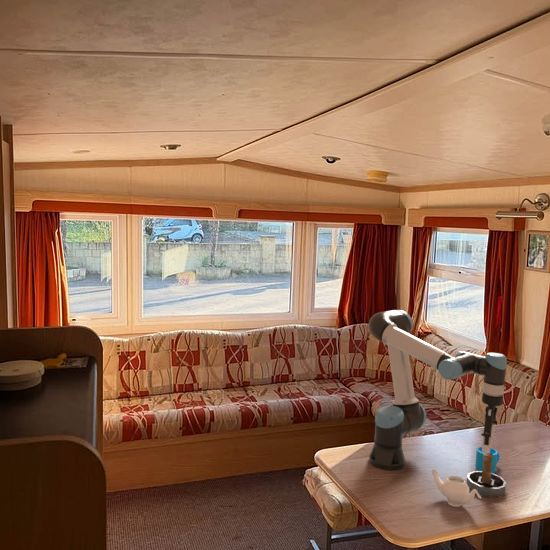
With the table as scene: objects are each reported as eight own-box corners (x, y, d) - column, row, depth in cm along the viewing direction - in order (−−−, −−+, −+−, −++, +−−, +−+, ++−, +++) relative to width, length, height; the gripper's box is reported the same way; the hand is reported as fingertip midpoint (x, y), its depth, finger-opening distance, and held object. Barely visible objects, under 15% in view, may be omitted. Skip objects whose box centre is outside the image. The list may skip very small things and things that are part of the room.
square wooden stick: (481, 486, 210) (483, 455, 209) (482, 483, 213) (484, 452, 211) (489, 488, 209) (491, 456, 207) (490, 485, 211) (492, 454, 210)
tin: (464, 491, 208) (464, 482, 208) (469, 476, 220) (470, 468, 220) (503, 500, 201) (503, 492, 201) (506, 484, 214) (507, 476, 213)
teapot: (473, 519, 188) (475, 494, 187) (423, 496, 203) (425, 473, 202) (486, 510, 194) (488, 486, 193) (437, 488, 209) (439, 466, 208)
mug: (486, 475, 222) (488, 456, 221) (471, 467, 229) (472, 448, 228) (506, 469, 227) (507, 451, 226) (490, 461, 234) (491, 443, 234)
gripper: (500, 405, 194) (494, 460, 197) (506, 386, 216) (501, 436, 218) (478, 400, 197) (473, 455, 200) (486, 382, 219) (481, 432, 222)
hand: (487, 445), depth 209 cm, fingers open, 13 cm apart
